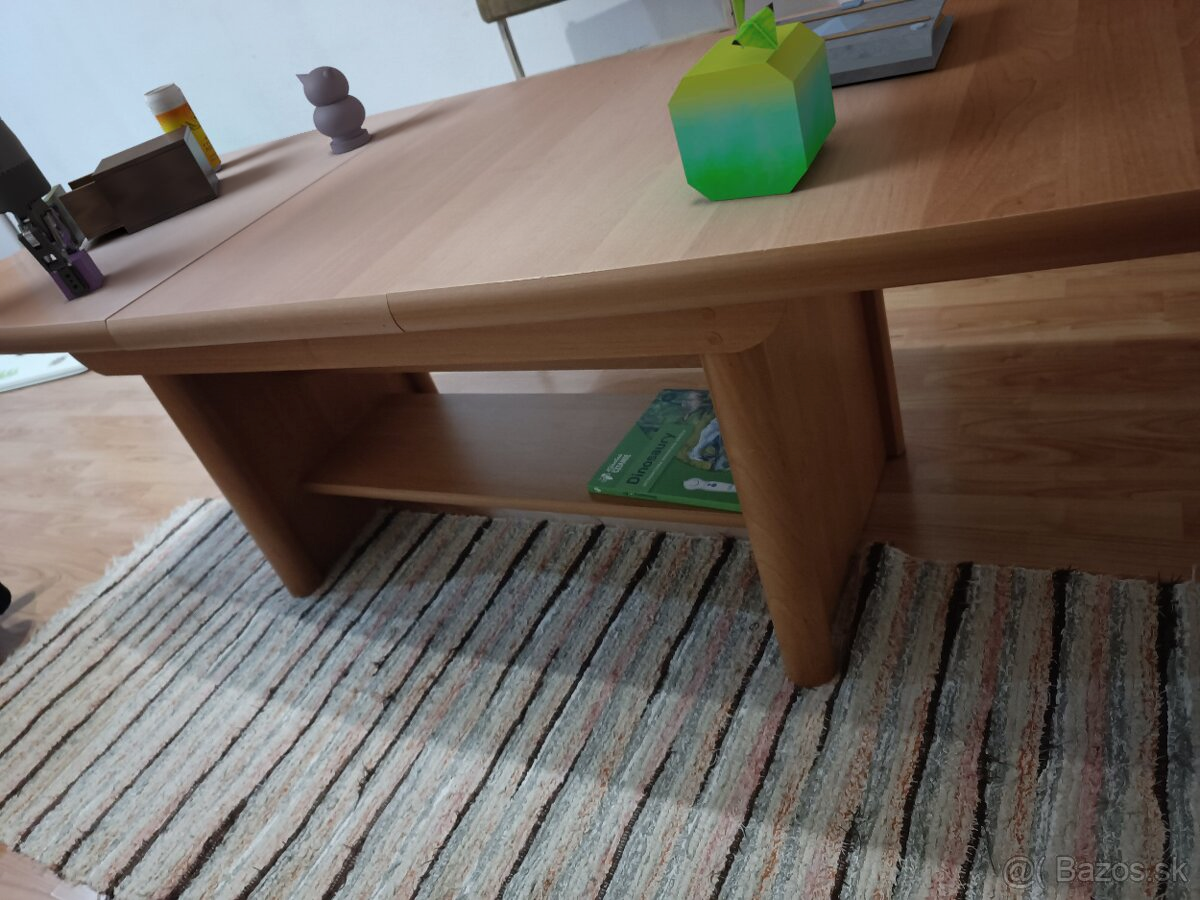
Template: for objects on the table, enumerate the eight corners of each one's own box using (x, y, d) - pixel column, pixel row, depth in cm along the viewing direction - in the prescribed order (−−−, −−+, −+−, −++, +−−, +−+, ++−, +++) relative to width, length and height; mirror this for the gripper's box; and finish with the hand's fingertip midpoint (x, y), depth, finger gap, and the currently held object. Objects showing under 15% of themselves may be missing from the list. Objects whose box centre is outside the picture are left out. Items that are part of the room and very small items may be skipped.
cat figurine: (386, 131, 138) (352, 53, 131) (356, 152, 133) (319, 72, 126) (349, 137, 143) (314, 63, 136) (318, 158, 138) (280, 81, 131)
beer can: (226, 168, 153) (177, 82, 145) (193, 182, 152) (142, 97, 143) (221, 163, 158) (174, 80, 150) (189, 177, 157) (140, 94, 148)
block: (68, 301, 115) (47, 271, 113) (73, 290, 119) (52, 261, 116) (100, 287, 116) (79, 258, 113) (104, 277, 119) (84, 248, 117)
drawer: (40, 264, 134) (5, 217, 129) (53, 243, 143) (21, 199, 139) (156, 215, 136) (126, 168, 132) (161, 198, 145) (133, 153, 141)
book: (730, 110, 95) (720, 63, 92) (770, 58, 106) (763, 15, 103) (933, 76, 85) (929, 22, 82) (954, 22, 96) (952, -27, 93)
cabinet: (129, 234, 135) (90, 176, 130) (136, 214, 146) (101, 159, 140) (217, 197, 137) (183, 138, 132) (219, 180, 148) (187, 124, 142)
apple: (692, 203, 78) (648, 28, 69) (727, 157, 84) (691, -9, 76) (810, 190, 72) (779, -1, 64) (839, 142, 79) (814, -38, 70)
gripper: (-17, 166, 113) (67, 282, 123) (-47, 192, 101) (50, 317, 111) (39, 144, 114) (118, 260, 124) (16, 166, 102) (106, 293, 112)
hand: (85, 286), depth 117 cm, fingers closed on block, 4 cm apart
